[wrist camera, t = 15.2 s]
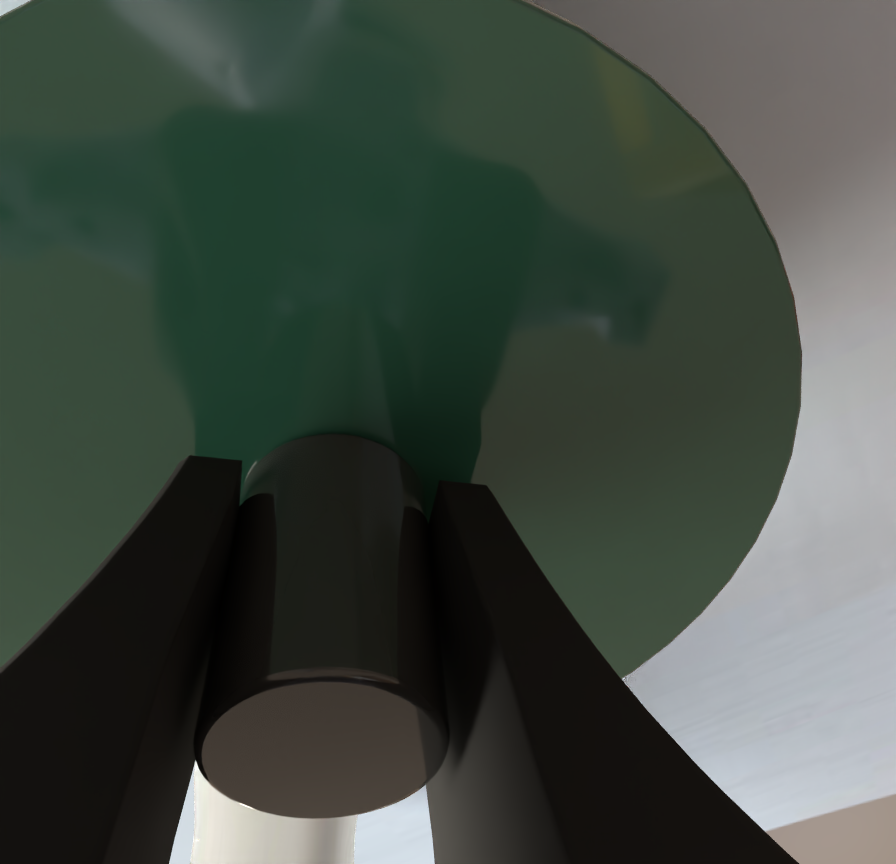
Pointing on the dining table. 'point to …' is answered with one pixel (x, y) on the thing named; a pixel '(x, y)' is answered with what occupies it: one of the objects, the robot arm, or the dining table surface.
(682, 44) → the dining table surface
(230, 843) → the beer glass
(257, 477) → the lid
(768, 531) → the dining table surface
